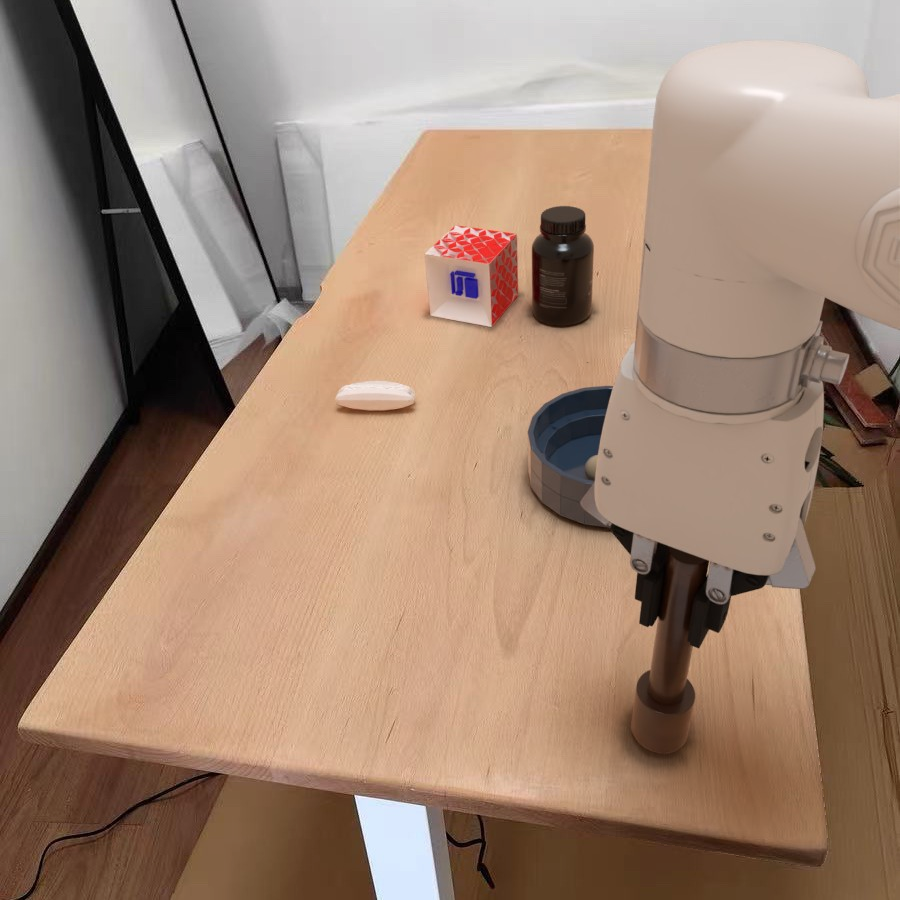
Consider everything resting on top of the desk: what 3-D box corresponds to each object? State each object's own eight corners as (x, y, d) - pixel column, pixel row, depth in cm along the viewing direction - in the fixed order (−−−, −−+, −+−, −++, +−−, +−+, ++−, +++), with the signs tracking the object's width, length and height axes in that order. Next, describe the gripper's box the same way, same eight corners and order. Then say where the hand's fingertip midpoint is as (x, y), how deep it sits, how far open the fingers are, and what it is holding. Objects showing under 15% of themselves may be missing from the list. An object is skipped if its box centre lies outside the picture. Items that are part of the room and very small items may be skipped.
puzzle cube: (518, 295, 104) (517, 233, 99) (492, 327, 98) (489, 263, 93) (458, 285, 107) (454, 225, 102) (429, 315, 101) (423, 253, 96)
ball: (587, 475, 73) (582, 488, 75) (618, 477, 73) (612, 490, 75) (586, 448, 74) (581, 462, 77) (617, 450, 74) (611, 464, 77)
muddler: (696, 723, 56) (734, 543, 47) (673, 763, 54) (708, 583, 44) (645, 697, 58) (672, 519, 49) (621, 735, 56) (644, 556, 46)
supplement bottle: (603, 315, 99) (608, 215, 91) (555, 334, 96) (556, 233, 89) (567, 292, 103) (569, 196, 96) (520, 310, 101) (518, 212, 94)
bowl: (712, 456, 78) (719, 412, 75) (650, 553, 69) (655, 507, 66) (572, 413, 84) (573, 371, 81) (500, 497, 76) (498, 453, 72)
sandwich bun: (414, 415, 86) (411, 392, 84) (335, 415, 87) (331, 392, 85) (418, 397, 88) (415, 374, 87) (341, 397, 89) (337, 374, 88)
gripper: (932, 353, 37) (839, 630, 49) (593, 276, 45) (582, 532, 56) (894, 449, 32) (800, 730, 44) (522, 345, 40) (525, 609, 51)
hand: (678, 617), depth 50 cm, fingers closed on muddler, 2 cm apart
